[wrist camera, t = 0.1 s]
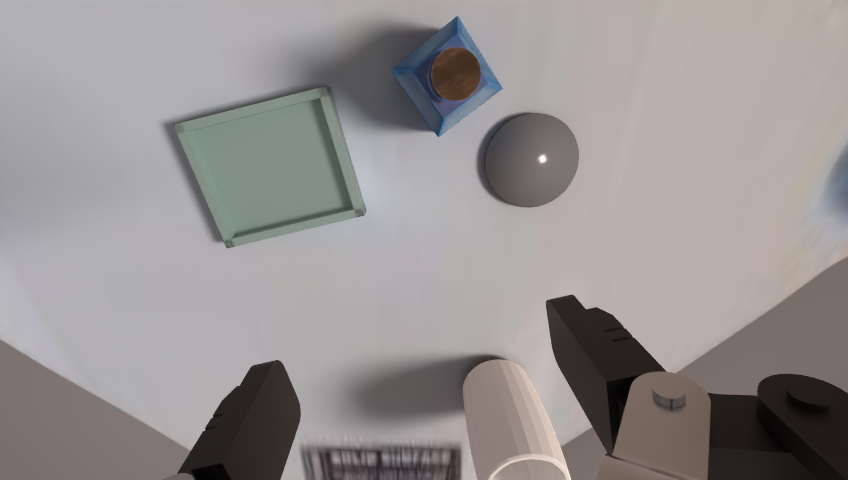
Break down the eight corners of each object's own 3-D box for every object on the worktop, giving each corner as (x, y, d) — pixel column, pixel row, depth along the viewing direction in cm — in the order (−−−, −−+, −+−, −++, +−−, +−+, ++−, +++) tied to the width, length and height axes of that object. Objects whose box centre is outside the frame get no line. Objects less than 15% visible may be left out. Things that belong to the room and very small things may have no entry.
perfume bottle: (449, 30, 35) (468, -5, 24) (487, 90, 37) (523, 85, 25) (393, 75, 36) (387, 63, 25) (433, 131, 38) (444, 144, 26)
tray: (183, 123, 37) (173, 124, 35) (329, 86, 36) (325, 86, 34) (234, 242, 41) (226, 248, 39) (366, 210, 40) (364, 215, 38)
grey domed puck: (477, 125, 38) (478, 126, 37) (570, 102, 37) (573, 102, 36) (493, 214, 41) (494, 216, 40) (579, 193, 40) (582, 195, 39)
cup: (484, 339, 46) (516, 438, 32) (542, 368, 47) (595, 474, 34) (445, 391, 48) (460, 504, 35) (502, 418, 50) (537, 535, 36)
